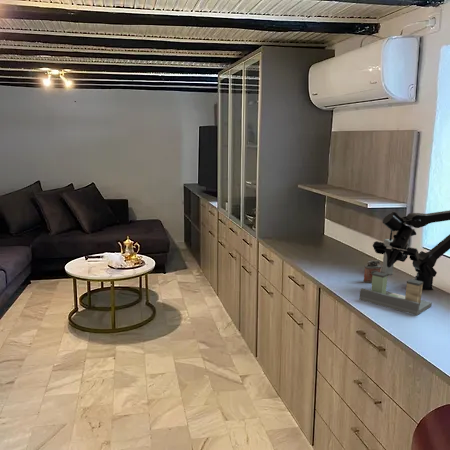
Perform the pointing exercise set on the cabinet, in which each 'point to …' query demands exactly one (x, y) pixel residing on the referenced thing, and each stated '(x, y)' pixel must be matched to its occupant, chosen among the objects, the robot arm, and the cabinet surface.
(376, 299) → the switch board
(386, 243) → the grey upright bar
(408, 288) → the beech block
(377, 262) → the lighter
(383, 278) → the sage block
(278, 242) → the cabinet surface
